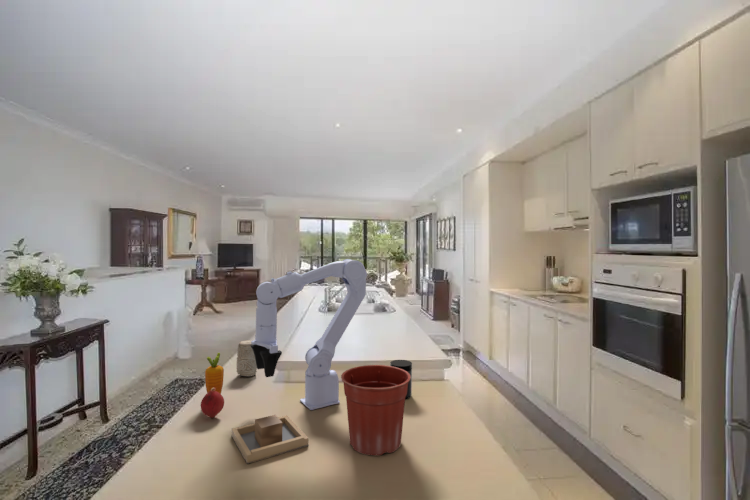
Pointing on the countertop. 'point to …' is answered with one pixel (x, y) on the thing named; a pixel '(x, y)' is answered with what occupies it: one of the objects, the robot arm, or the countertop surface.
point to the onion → (212, 403)
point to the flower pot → (375, 407)
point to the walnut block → (268, 430)
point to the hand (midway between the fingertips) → (265, 372)
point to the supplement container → (407, 367)
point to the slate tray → (253, 451)
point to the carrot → (214, 375)
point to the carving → (246, 359)
